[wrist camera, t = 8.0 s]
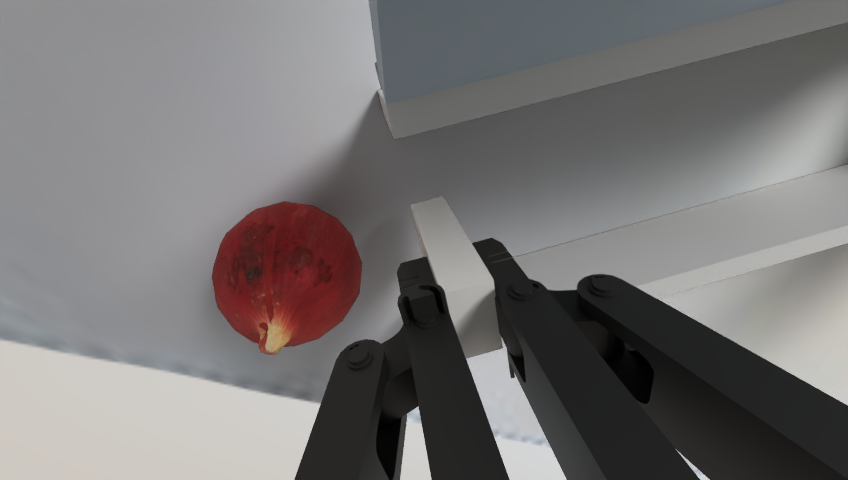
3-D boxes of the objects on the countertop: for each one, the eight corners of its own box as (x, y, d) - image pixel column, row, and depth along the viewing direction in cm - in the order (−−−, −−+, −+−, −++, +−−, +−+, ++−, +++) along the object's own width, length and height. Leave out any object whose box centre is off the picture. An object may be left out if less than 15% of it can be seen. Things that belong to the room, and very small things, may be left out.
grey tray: (377, 89, 16) (385, 102, 11) (999, -67, 17) (1221, -110, 13) (431, 297, 21) (450, 358, 17) (891, 167, 23) (1018, 193, 18)
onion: (221, 201, 17) (121, 296, 10) (337, 167, 17) (325, 235, 10) (273, 296, 19) (226, 426, 12) (374, 266, 20) (384, 375, 13)
